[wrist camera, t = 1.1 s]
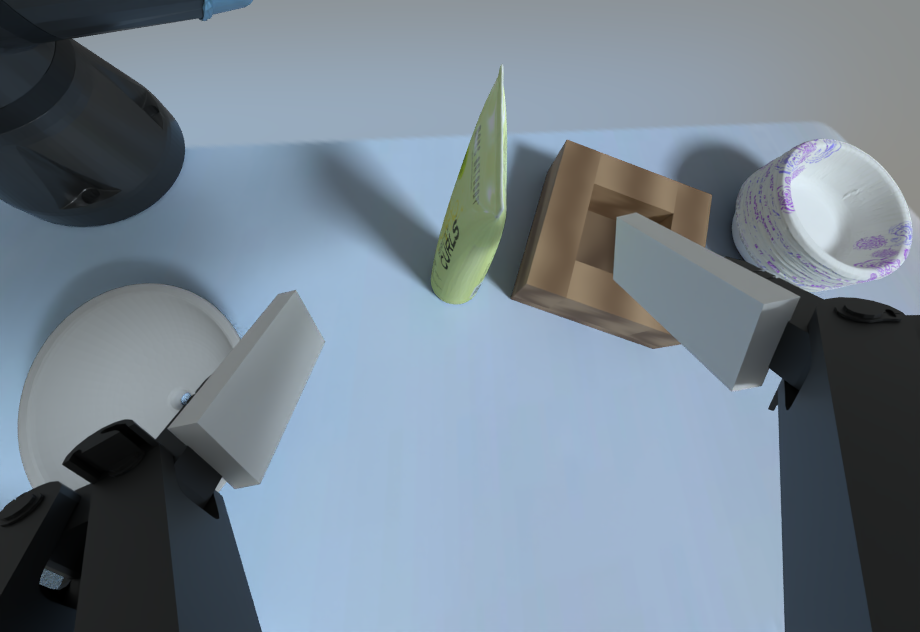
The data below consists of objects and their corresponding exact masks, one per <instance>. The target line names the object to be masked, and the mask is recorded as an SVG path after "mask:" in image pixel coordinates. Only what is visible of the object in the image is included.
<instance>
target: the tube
mask: <svg viewBox="0 0 920 632" xmlns="http://www.w3.org/2000/svg"><path fill="white" fill-rule="evenodd" d="M506 123H507V122H506V105H505V94H504V87H503V65H501V66H500V70H499V75H498V78H497V80H496V82H495V84H494V86H493V88H492V90H491V92H490V94H489V96H488V98H487V100H486V102H485V105H484V107H483V110H482V112H481V114H480V116H479V119H478V122H477V124H476V127H475V130H474V132H473V135H472V138H471V140H470V143H469V146H468V149H467V152H466V155H465V158H464V160H463V163H462V166H461V169H460V172H459V175H458V178H457V181H456V184H455V187H454V190H453V193H452V196H451V199H450V202H449V205H448V208H447V212H446V215H445V218H444V222H443V225H442V229H441V232H440V236H439V240H438V244H437V248H436V252H435V257H434V262H433V267H432V273H431V286H432V289H433V291H434V293H435V294H436V295H437V296H438V297H439V298H440V299H441V300H442V301H444V302H446V303H449V304H462V303H465V302H467V301H469V300H470V299H472V298H473V297H474V295H475V294H476V293H477V291H478V289H479V287H480V285H481V283H482V281H483V279H484V277H485V275H486V273H487V271H488V269H489V267H490V264H491V262H492V260H493V258H494V255H495V253H496V250H497V248H498V245H499V242H500V239H501V236H502V232H503V229H504V225H505V220H506V210H507V204H506V183H507V124H506Z"/></svg>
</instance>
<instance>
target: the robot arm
mask: <svg viewBox="0 0 920 632" xmlns="http://www.w3.org/2000/svg"><path fill="white" fill-rule="evenodd" d="M252 1H253V0H0V199H1V200H2V201H4V202H6V203H8V204H9V205H11V206H13V207H16V208H18V209H20V210H22V211H24V212H27V213H29V214H31V215H33V216H36V217H38V218H40V219H42V220H45V221H48V222H51V223H55V224H60V225H66V226H77V227H87V226H98V225H105V224H110V223H114V222H117V221H121V220H124V219H126V218H129V217H131V216H133V215H136V214H138V213H140V212H141V211H143V210H145V209H147V208H148V207H150V206H151V205H153V204H154V203H155V202H156V201H158V200H159V199H160V198H161V197H162V196H163V195H164V194H165V193H166V192H167V191H168V190H169V189H170V187H171V186H172V185H173V183H174V182H175V180H176V179H177V177H178V175H179V173H180V171H181V168H182V165H183V161H184V155H185V144H184V138H183V134H182V131H181V129H180V127H179V125H178V123H177V121H176V120H175V118H174V117H173V116H172V115H171V114H170V113H169V111H168V110H167V109H166V108H165V107H164V106H163V105H162V104H161V103H160V101H159V100H158V99H157V98H156V97H155V96H154V95H153V94H152V93H151V92H150V91H149V90H147V89H146V88H145V87H144V86H142V85H141V84H139V83H138V82H137V81H135V80H133V79H132V78H130V77H129V76H127V75H126V74H124V73H123V72H121V71H120V70H118V69H117V68H115V67H114V66H112V65H111V64H109V63H108V62H106V61H105V60H103V59H102V58H100V57H99V56H97V55H96V54H94V53H93V52H91V51H90V50H88V49H87V48H85V47H84V46H82V45H81V44H79V43H78V42H76V41H75V40H73V39H72V38H79V37H84V36H91V35H97V34H103V33H109V32H116V31H122V30H128V29H135V28H141V27H147V26H153V25H160V24H166V23H171V22H178V21H184V20H190V19H196V18H199V19H200V20H202V21H207V19H210V18H211V17H212V15H213V14H218V13H222V12H226V11H231V10H235V9H239V8H243V7H246V6H248V5H249V4H251V2H252ZM613 280H614V281H615V282H616V283H618V284H619V285H620V286H621V287H622V288H623V289H624V290H625V291H626V292H627V293H628V294H629V295H630V296H631V297H632V298H633V299H634V300H635V301H637V302H638V303H639V304H640V305H641V306H642V307H643V308H644V309H645V310H646V311H647V312H648V313H649V314H650V315H651V316H652V317H653V318H654V319H655V320H657V321H658V322H659V323H660V324H661V325H662V326H663V327H664V328H665V329H666V330H667V331H668V332H669V333H670V334H671V335H672V336H673V337H674V338H676V339H677V340H678V341H679V342H680V343H681V344H682V345H683V346H684V347H685V348H686V349H687V350H688V351H689V352H690V353H691V354H692V355H693V356H694V357H696V358H697V359H698V360H699V361H700V362H701V363H702V364H703V365H704V366H705V367H706V368H707V369H708V370H709V371H710V372H711V373H712V374H713V375H715V376H716V377H717V378H718V379H719V380H720V381H721V382H722V383H723V384H724V385H725V386H726V387H727V388H728V389H729V390H730V391H731V392H733V391H739V390H744V389H749V388H754V387H759V386H762V384H763V382H764V379H765V377H766V375H767V373H768V370H769V368H770V369H771V370H772V371H774V372H775V373H776V374H777V375H779V376H780V377H781V378H782V380H781V382H780V384H779V387H778V389H777V391H776V393H775V395H774V397H773V399H772V401H771V403H770V406H769V408H768V409H769V410H773V411H774V410H775V408H776V406H777V405H778V417H779V450H780V484H781V517H782V550H783V584H784V617H785V632H920V315H905V314H904V313H903V312H901V311H899V310H897V309H895V308H893V307H891V306H888V305H885V304H882V303H878V302H875V301H871V300H865V299H859V298H844V297H838V298H830V299H825V300H824V299H822V298H820V297H818V296H816V295H813V294H811V293H809V292H807V291H805V290H803V289H801V288H799V287H797V286H795V285H793V284H791V283H789V282H787V281H785V280H783V279H781V278H776V276H775V275H773V274H771V273H769V272H767V271H762V269H760V268H758V267H756V266H754V265H752V264H750V263H748V262H746V261H742V260H738V259H734V258H730V257H722V256H720V255H718V254H716V253H714V252H712V251H710V250H709V249H707V248H705V247H703V246H701V245H699V244H697V243H695V242H693V241H691V240H689V239H687V238H685V237H683V236H681V235H679V234H677V233H675V232H673V231H672V230H670V229H668V228H666V227H664V226H662V225H660V224H658V223H656V222H654V221H652V220H650V219H648V218H646V217H644V216H642V215H640V214H638V213H632V214H628V215H623V216H619V217H617V220H616V237H615V253H614V270H613ZM324 343H325V341H324V339H323V337H322V335H321V334H320V332H319V330H318V328H317V326H316V325H315V323H314V321H313V319H312V318H311V316H310V314H309V312H308V310H307V309H306V307H305V305H304V303H303V302H302V300H301V298H300V296H299V294H298V293H297V291H296V290H294V291H290V292H285V293H281V294H278V295H277V296H276V298H275V299H274V300H273V301H272V302H271V304H270V305H269V306H268V307H267V308H266V310H265V311H264V312H263V313H262V314H261V316H260V317H259V318H258V319H257V321H256V322H255V323H254V324H253V325H252V327H251V328H250V329H249V330H248V331H247V333H246V334H245V335H244V336H243V337H242V339H241V340H240V341H239V342H238V344H237V345H236V346H235V347H234V348H233V350H232V351H231V352H230V353H229V354H228V356H227V357H226V358H225V359H224V360H223V362H222V363H221V364H220V365H219V367H218V368H217V369H216V370H215V371H214V373H213V374H212V375H210V376H209V377H208V378H207V379H205V381H204V382H203V383H202V384H201V385H200V387H199V388H198V389H197V390H196V391H195V394H193V395H192V396H191V397H190V399H189V400H188V401H187V402H186V403H187V405H184V406H183V407H182V408H181V409H180V411H179V412H178V413H177V414H176V415H175V417H174V418H173V419H172V420H171V421H170V423H169V424H168V425H167V426H166V427H165V429H164V430H163V431H162V432H161V433H160V435H159V436H158V437H157V438H156V439H154V438H153V437H152V436H151V435H150V434H149V433H147V432H146V431H145V430H144V429H143V428H141V427H140V426H139V425H138V424H137V423H136V422H134V421H133V420H130V419H124V420H121V421H117V422H114V423H112V424H110V425H108V426H105V427H103V428H101V429H100V430H98V431H96V432H95V433H93V434H92V435H90V436H88V437H87V438H86V439H85V440H83V441H82V442H81V443H79V444H78V445H77V446H76V447H75V448H74V449H73V450H72V451H71V452H70V453H69V454H68V455H67V456H66V458H65V459H64V461H63V463H62V465H63V466H65V467H66V468H68V469H69V470H71V471H72V472H74V473H76V474H77V475H79V476H80V477H82V478H83V479H85V480H86V481H88V482H90V484H88V485H86V486H84V487H81V488H79V489H77V490H72V489H71V488H69V487H67V486H66V485H64V484H62V483H61V482H59V481H52V482H48V483H45V484H43V485H40V486H37V487H36V488H34V489H32V490H30V491H28V492H25V493H23V494H22V495H20V496H18V497H17V498H16V500H13V501H11V502H10V503H9V504H7V505H6V506H5V507H4V509H3V510H2V511H1V512H0V632H262V630H261V627H260V624H259V620H258V617H257V613H256V610H255V606H254V603H253V600H252V596H251V593H250V589H249V586H248V582H247V579H246V575H245V572H244V569H243V565H242V562H241V558H240V555H239V551H238V548H237V545H236V541H235V538H234V534H233V531H232V527H231V524H230V520H229V517H228V514H227V510H226V507H225V503H224V500H223V497H222V496H221V495H220V493H219V492H217V491H216V490H215V489H216V487H217V485H218V484H219V482H220V480H221V478H223V479H224V480H225V481H226V482H228V483H229V484H230V485H231V486H232V487H233V488H234V489H237V488H242V487H248V486H253V485H258V484H260V483H261V481H262V479H263V477H264V475H265V472H266V470H267V468H268V466H269V464H270V461H271V459H272V457H273V455H274V453H275V450H276V448H277V446H278V444H279V442H280V440H281V437H282V435H283V433H284V431H285V429H286V426H287V424H288V422H289V420H290V418H291V415H292V413H293V411H294V409H295V407H296V405H297V402H298V400H299V398H300V396H301V394H302V391H303V389H304V387H305V385H306V383H307V380H308V378H309V376H310V374H311V372H312V370H313V367H314V365H315V363H316V361H317V359H318V356H319V354H320V352H321V350H322V348H323V345H324ZM44 569H47V570H49V571H51V572H54V573H56V574H58V575H61V576H63V577H64V579H63V581H62V583H61V585H60V587H59V588H58V590H56V589H50V588H48V587H45V586H43V585H40V584H39V582H40V578H41V574H42V572H43V570H44Z"/></svg>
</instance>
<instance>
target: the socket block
mask: <svg viewBox="0 0 920 632" xmlns="http://www.w3.org/2000/svg"><path fill="white" fill-rule="evenodd" d="M711 200H712V195H711V194H708V193H706V192H703V191H700V190H698V189H695V188H693V187H690V186H687V185H685V184H682V183H679V182H677V181H674V180H672V179H669V178H666V177H664V176H661V175H659V174H656V173H653V172H651V171H648V170H645V169H643V168H640V167H638V166H635V165H632V164H630V163H627V162H624V161H622V160H619V159H617V158H614V157H611V156H609V155H606V154H603V153H601V152H598V151H596V150H593V149H590V148H588V147H585V146H583V145H580V144H577V143H575V142H572V141H569V140H566V142H565V144H564V145H563V147H562V149H561V150H560V152H559V154H558V155H557V157H556V159H555V160H554V162H553V164H552V165H551V167H550V169H549V170H548V172H547V175H546V178H545V182H544V185H543V189H542V192H541V196H540V199H539V203H538V206H537V209H536V213H535V216H534V220H533V223H532V227H531V230H530V234H529V237H528V240H527V244H526V247H525V251H524V254H523V258H522V261H521V265H520V268H519V271H518V275H517V278H516V282H515V285H514V289H513V292H512V296H511V299H512V300H515V301H518V302H520V303H523V304H526V305H529V306H532V307H535V308H538V309H540V310H543V311H546V312H549V313H552V314H555V315H558V316H561V317H563V318H566V319H569V320H572V321H575V322H578V323H581V324H583V325H586V326H589V327H592V328H595V329H598V330H601V331H603V332H606V333H609V334H612V335H615V336H618V337H621V338H624V339H626V340H629V341H632V342H635V343H638V344H641V345H644V346H646V347H649V348H652V349H655V348H661V347H667V346H673V345H679V344H681V343H680V342H679V341H678V340H677V339H676V338H674V337H673V336H672V335H671V334H670V333H669V332H668V331H667V330H666V329H665V328H664V327H663V326H662V325H661V324H660V323H659V322H658V321H657V320H655V319H654V318H653V317H652V316H651V315H650V314H649V313H648V312H647V311H646V310H645V309H644V308H643V307H642V306H641V305H640V304H639V303H638V302H637V301H635V300H634V299H633V298H632V297H631V296H630V295H629V294H628V293H627V292H626V291H625V290H624V289H623V288H622V287H621V286H620V285H619V284H618V283H616V282H615V281H614V280H613V270H614V253H615V237H616V220H617V217H619V216H623V215H628V214H632V213H638V214H640V215H642V216H644V217H646V218H648V219H650V220H652V221H654V222H656V223H658V224H660V225H662V226H664V227H666V228H668V229H670V230H672V231H673V232H675V233H677V234H679V235H681V236H683V237H685V238H687V239H689V240H691V241H693V242H695V243H697V244H699V245H701V246H703V247H705V245H706V237H707V230H708V222H709V215H710V207H711Z"/></svg>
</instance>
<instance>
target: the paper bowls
mask: <svg viewBox="0 0 920 632" xmlns="http://www.w3.org/2000/svg"><path fill="white" fill-rule="evenodd" d="M732 235H733V239H734V243H735V245H736V247H737V249H738V251H739V253H740V254H741V256H742V257H743V258H744V260H745V261H746V262H748V263H750V264H752V265H754V266H756V267H758V268H760V269H762V271H767V272H769V273H771V274H773V275H775V276H776V278H781V279H783V280H785V281H787V282H789V283H791V284H793V285H795V286H797V287H799V288H801V289H803V290H805V291H807V292H820V291H825V290H831V289H836V288H841V287H844V286H849V285H854V284H858V283H863V282H868V281H872V280H876V279H881V278H883V277H885V276H888V275H889V274H891V273H893V272H894V271H895V270H897V269H898V268H899V267H900V266H901V264H902V263H903V262H904V260H905V259H906V258H907V256H908V254H909V250H910V247H911V243H912V223H911V217H910V212H909V209H908V206H907V203H906V201H905V199H904V196H903V194H902V193H901V191H900V189H899V187H898V186H897V184H896V183H895V181H894V180H893V178H892V177H891V176H890V175H889V173H888V172H887V171H886V170H885V169H884V168H883V167H882V166H881V165H880V164H879V163H878V162H877V161H876V160H875V159H873V158H872V157H871V156H870V155H868V154H867V153H865V152H864V151H862V150H860V149H859V148H857V147H855V146H852V145H850V144H848V143H845V142H842V141H837V140H832V139H816V140H811V141H807V142H804V143H802V144H800V145H798V146H796V147H794V148H792V149H791V150H789V151H788V152H786V153H784V154H783V155H782V156H780V157H778V158H776V159H775V160H773V161H771V162H770V163H768V164H767V165H765V166H763V167H762V168H760V169H759V170H757V171H756V172H755V173H753V174H752V175H751V176H750V177H748V178H747V180H746V181H745V182H744V183H743V185H742V186H741V189H740V191H739V193H738V196H737V200H736V212H735V214H734V217H733V222H732Z"/></svg>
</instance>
